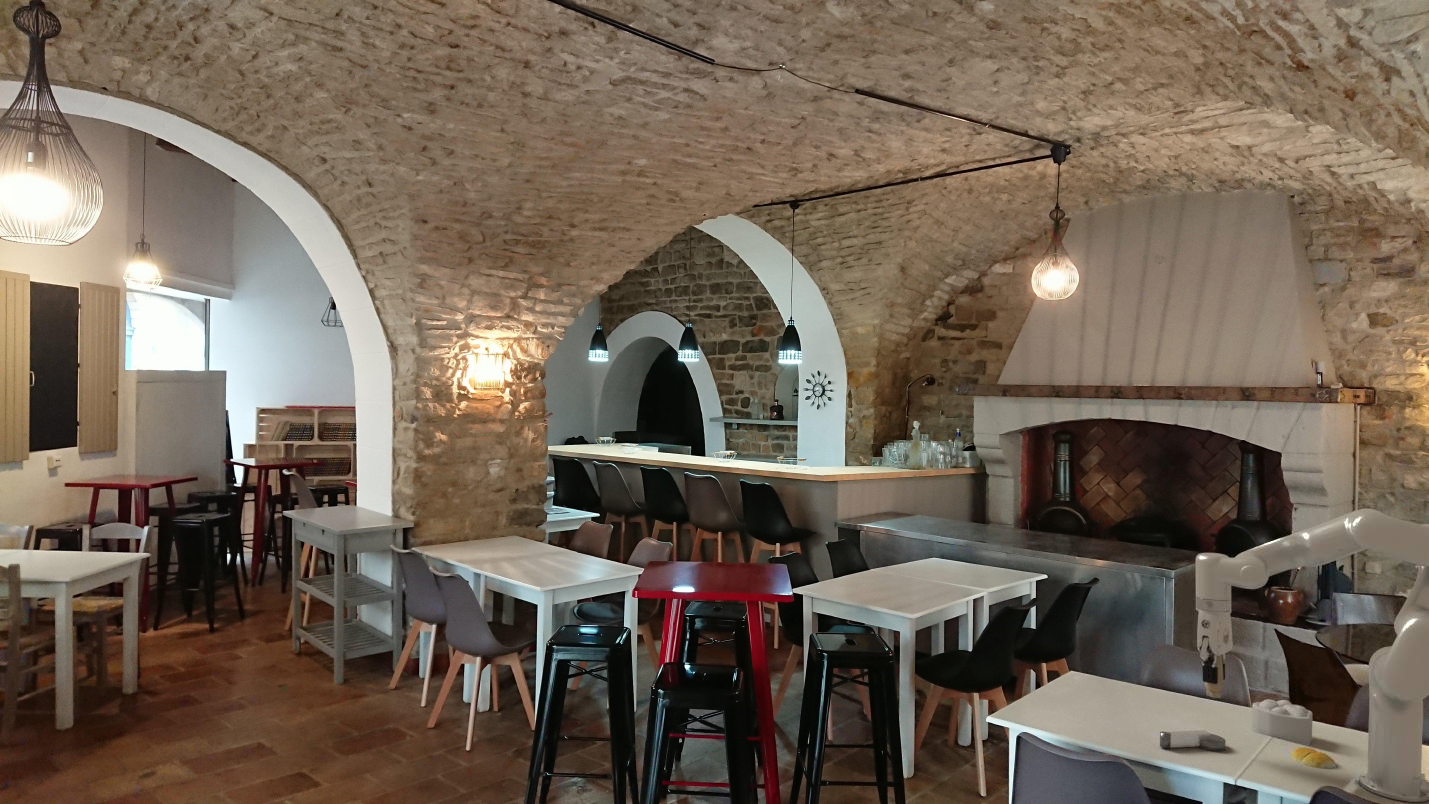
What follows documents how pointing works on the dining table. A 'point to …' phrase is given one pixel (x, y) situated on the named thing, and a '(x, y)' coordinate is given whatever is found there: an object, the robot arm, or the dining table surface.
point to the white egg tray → (1282, 721)
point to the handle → (1216, 689)
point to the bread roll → (1313, 758)
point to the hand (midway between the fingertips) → (1213, 679)
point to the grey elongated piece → (1192, 740)
